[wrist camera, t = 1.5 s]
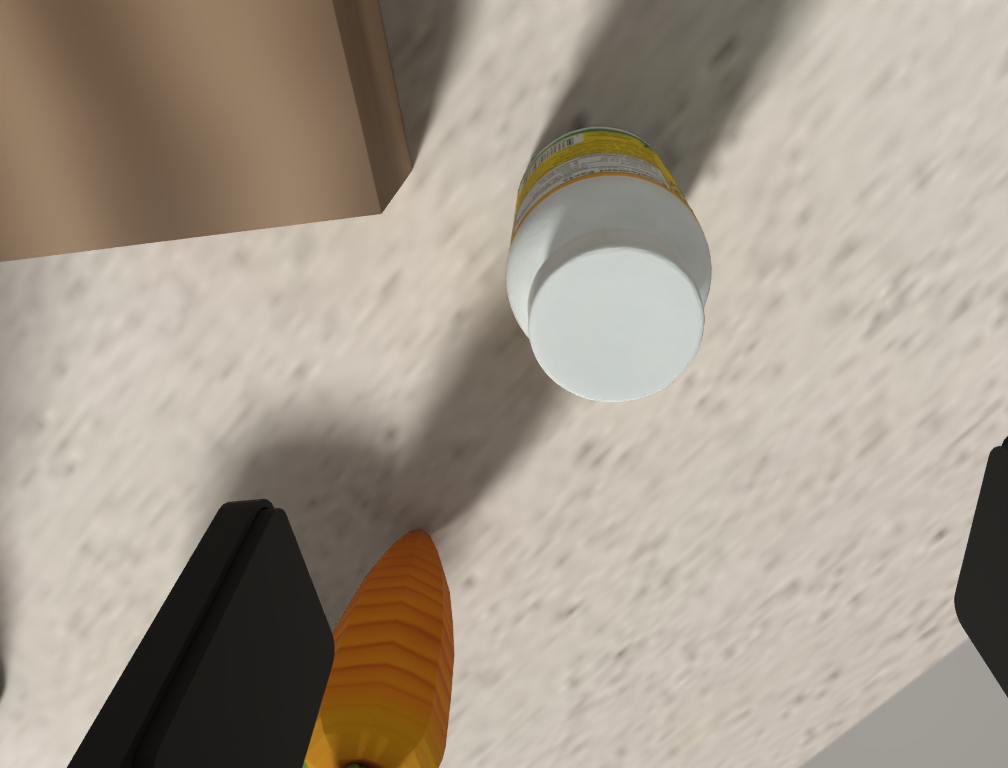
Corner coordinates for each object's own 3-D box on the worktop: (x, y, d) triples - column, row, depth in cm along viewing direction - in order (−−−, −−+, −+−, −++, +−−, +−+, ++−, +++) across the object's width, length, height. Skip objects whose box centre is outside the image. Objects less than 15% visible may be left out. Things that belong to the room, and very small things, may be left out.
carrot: (361, 561, 33) (239, 935, 20) (371, 480, 31) (240, 846, 18) (464, 581, 34) (409, 962, 21) (483, 501, 31) (433, 879, 18)
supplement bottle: (530, 111, 23) (516, 191, 15) (693, 137, 23) (771, 231, 15) (506, 267, 26) (484, 409, 17) (652, 290, 26) (699, 441, 17)
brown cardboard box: (316, -303, 18) (241, -388, 14) (412, 170, 24) (381, 213, 20) (-98, -211, 20) (-283, -263, 15) (88, 213, 25) (-7, 262, 21)
